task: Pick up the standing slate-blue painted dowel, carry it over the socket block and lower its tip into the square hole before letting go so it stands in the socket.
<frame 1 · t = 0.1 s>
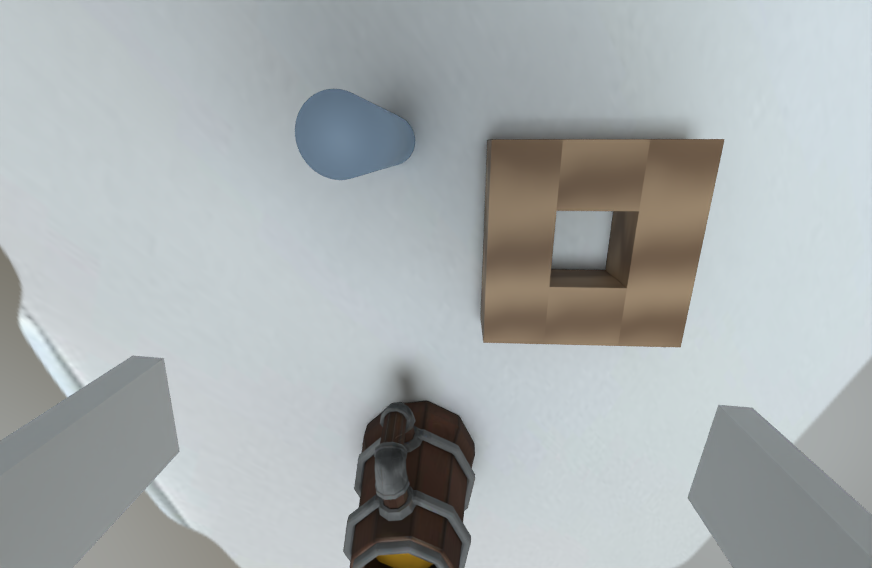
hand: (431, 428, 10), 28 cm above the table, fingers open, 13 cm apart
socket block: (575, 236, 36), on the table
mug: (415, 429, 44), on the table
peg: (391, 140, 34), on the table
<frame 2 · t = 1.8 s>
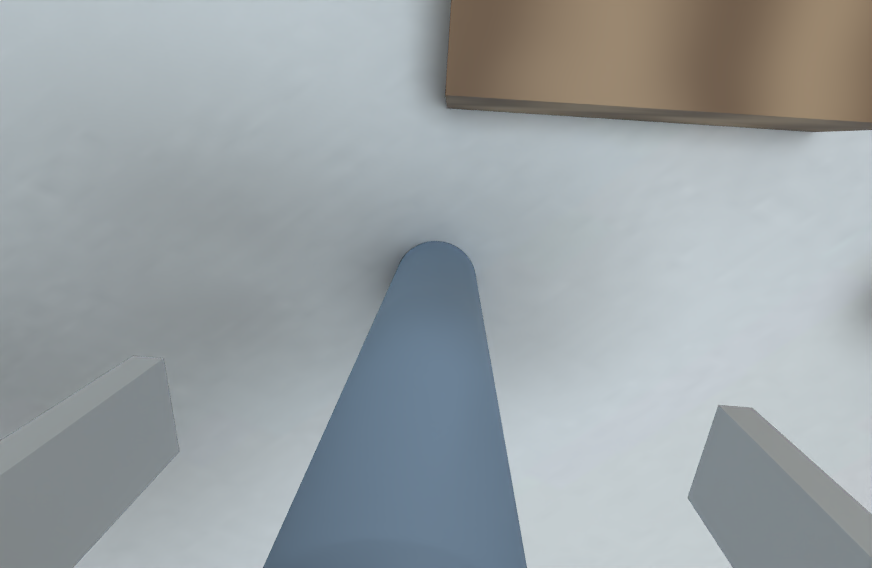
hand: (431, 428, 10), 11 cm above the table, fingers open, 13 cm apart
peg: (435, 280, 21), on the table
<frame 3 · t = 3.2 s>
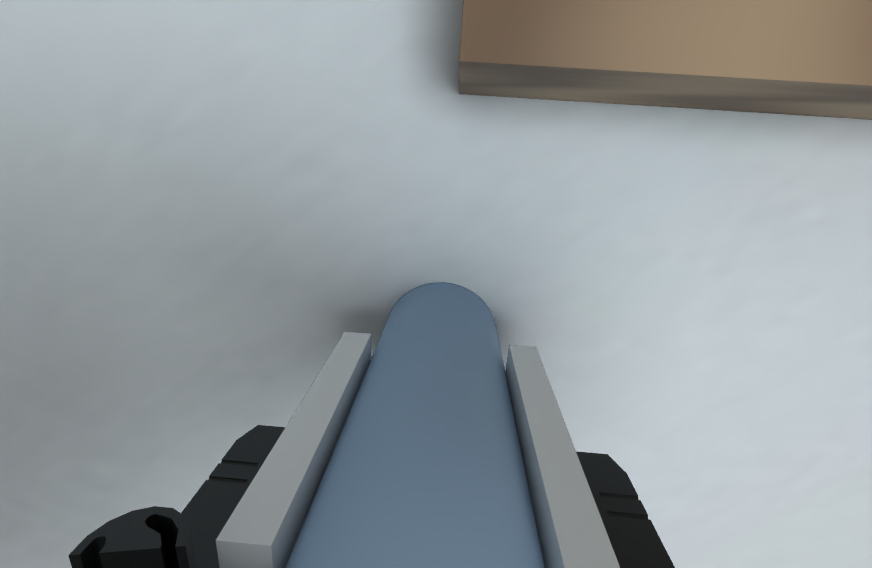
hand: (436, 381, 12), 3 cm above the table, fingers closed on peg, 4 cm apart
peg: (441, 335, 15), on the table, touching gripper
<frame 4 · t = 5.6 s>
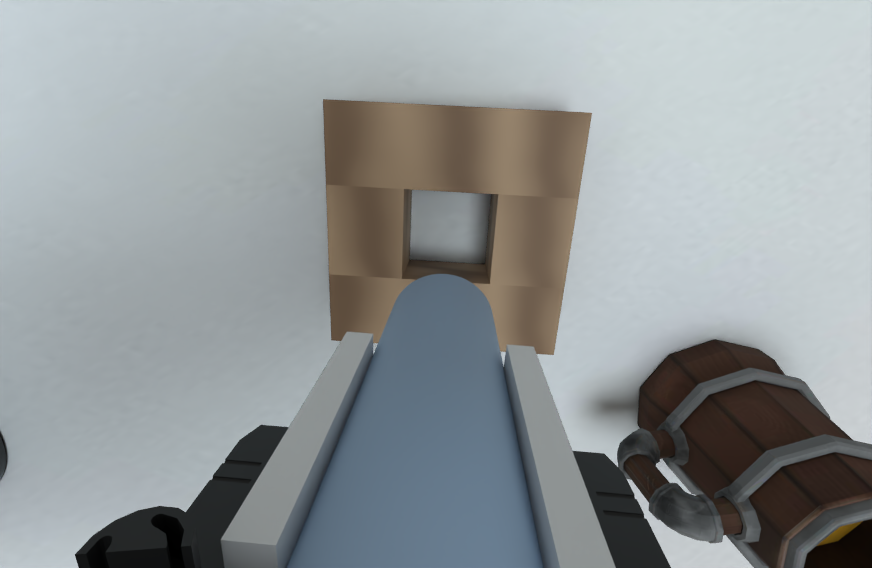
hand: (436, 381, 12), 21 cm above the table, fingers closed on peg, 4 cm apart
socket block: (449, 224, 32), on the table
mug: (679, 401, 36), on the table
peg: (441, 322, 16), point 17 cm above the table, touching gripper
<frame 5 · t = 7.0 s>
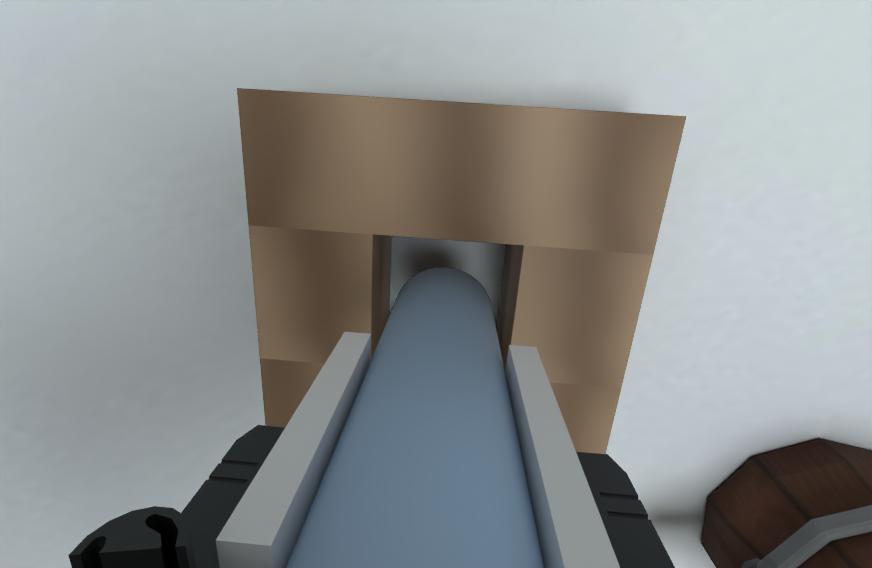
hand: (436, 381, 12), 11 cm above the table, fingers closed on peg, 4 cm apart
socket block: (446, 274, 22), on the table
mug: (760, 514, 26), on the table
peg: (443, 314, 17), point 5 cm above the table, touching gripper
when the fingers open (7 cm above the table, at t = 8.0 s): peg drops 1 cm, resting in socket block.
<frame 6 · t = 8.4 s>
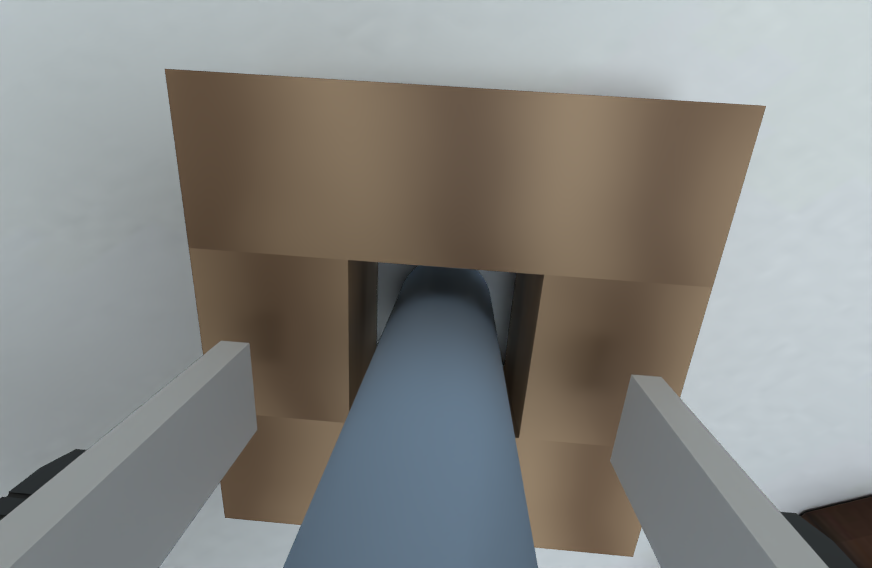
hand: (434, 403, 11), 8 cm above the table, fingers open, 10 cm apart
socket block: (444, 300, 18), on the table
peg: (445, 301, 18), resting in socket block
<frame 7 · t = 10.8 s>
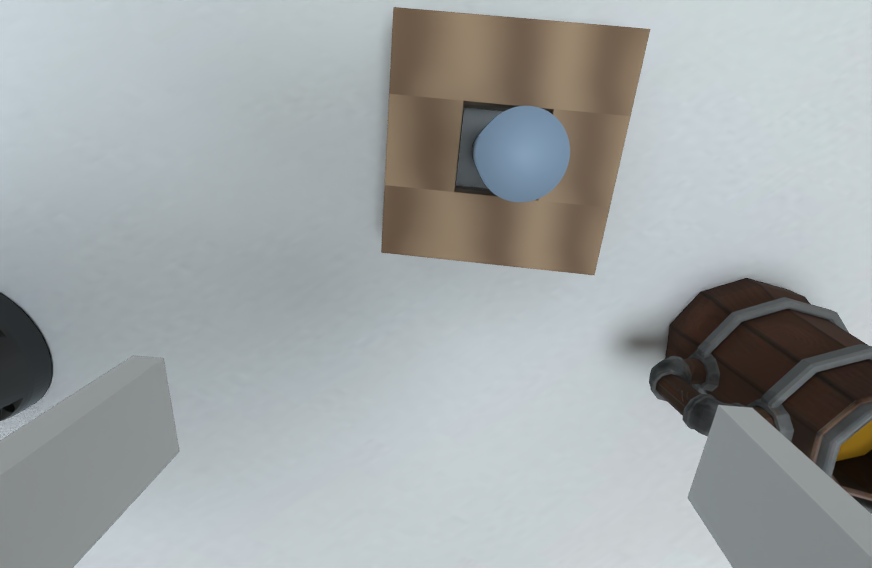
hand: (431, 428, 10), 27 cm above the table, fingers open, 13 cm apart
socket block: (496, 151, 33), on the table
mug: (707, 341, 37), on the table
peg: (497, 151, 33), resting in socket block
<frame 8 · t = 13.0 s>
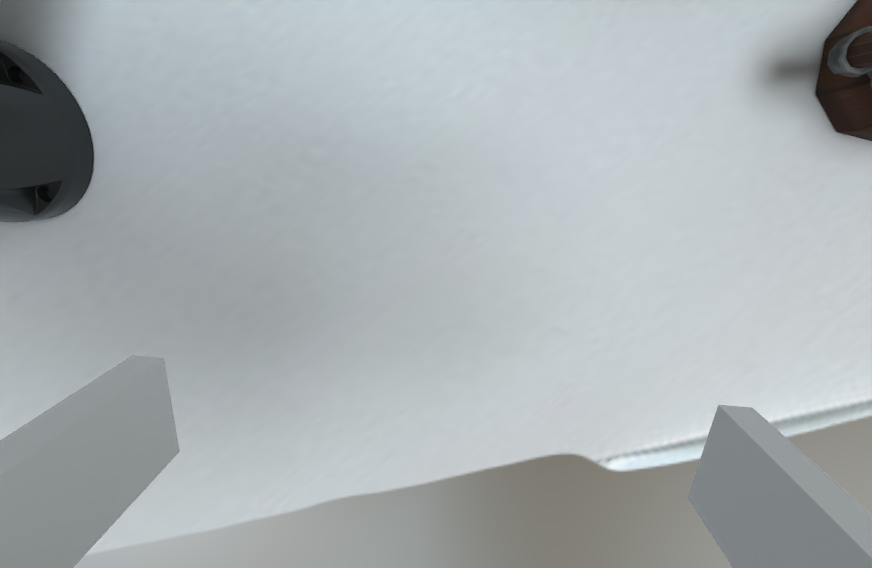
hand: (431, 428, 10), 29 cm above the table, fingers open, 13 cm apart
mug: (866, 63, 32), on the table
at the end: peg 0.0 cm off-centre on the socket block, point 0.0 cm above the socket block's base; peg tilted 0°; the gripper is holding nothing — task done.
